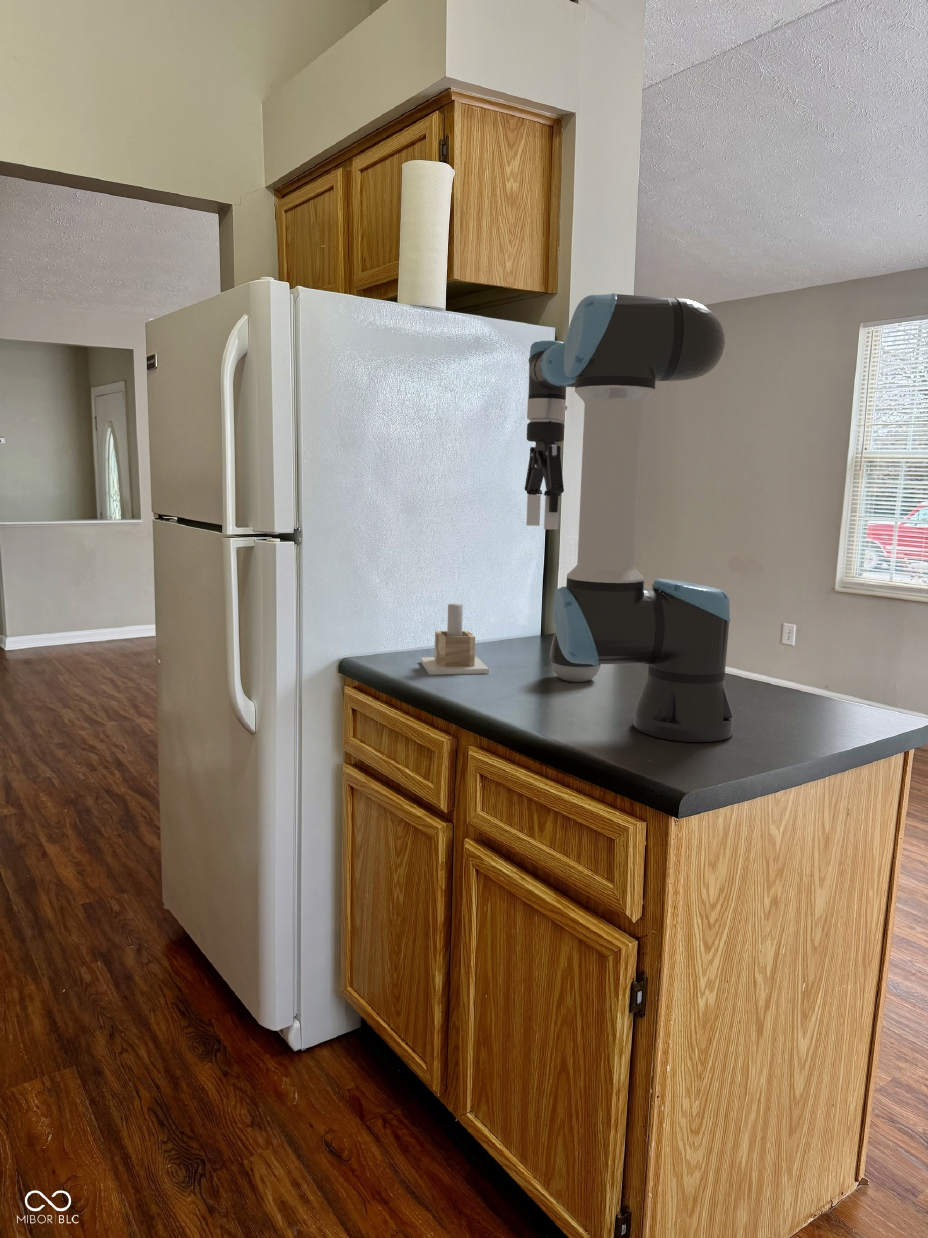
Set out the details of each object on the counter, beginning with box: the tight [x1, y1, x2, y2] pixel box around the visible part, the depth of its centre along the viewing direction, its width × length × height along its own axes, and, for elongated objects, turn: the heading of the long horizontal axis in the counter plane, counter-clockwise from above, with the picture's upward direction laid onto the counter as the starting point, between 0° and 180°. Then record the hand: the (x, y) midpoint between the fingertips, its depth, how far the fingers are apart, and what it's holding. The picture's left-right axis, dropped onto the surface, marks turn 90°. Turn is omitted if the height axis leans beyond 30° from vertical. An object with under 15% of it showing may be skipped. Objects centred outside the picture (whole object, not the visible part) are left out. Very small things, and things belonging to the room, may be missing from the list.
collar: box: [434, 630, 476, 667], centre depth 179 cm, size 7×7×6 cm
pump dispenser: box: [549, 630, 602, 683], centre depth 171 cm, size 10×10×15 cm
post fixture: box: [420, 603, 490, 676], centre depth 179 cm, size 12×12×13 cm
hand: (541, 527), depth 181 cm, fingers open, 13 cm apart
